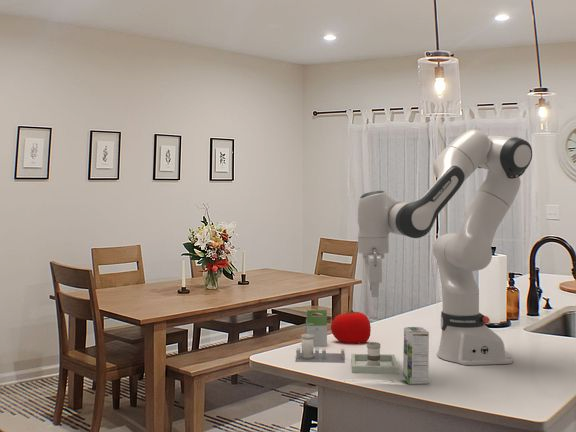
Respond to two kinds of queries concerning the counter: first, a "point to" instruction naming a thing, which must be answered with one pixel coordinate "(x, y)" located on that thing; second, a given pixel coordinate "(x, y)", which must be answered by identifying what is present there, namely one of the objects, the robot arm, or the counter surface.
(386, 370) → the tray
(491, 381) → the counter surface
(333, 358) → the holder
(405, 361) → the syrup box
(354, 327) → the tomato
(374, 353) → the fuse
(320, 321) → the ink box
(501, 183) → the robot arm
